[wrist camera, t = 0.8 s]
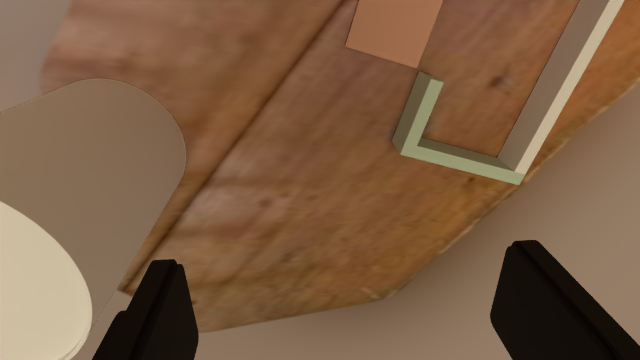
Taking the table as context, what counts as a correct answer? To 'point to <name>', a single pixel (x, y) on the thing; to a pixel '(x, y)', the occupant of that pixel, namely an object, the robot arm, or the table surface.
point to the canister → (77, 207)
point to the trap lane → (535, 117)
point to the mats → (393, 28)
